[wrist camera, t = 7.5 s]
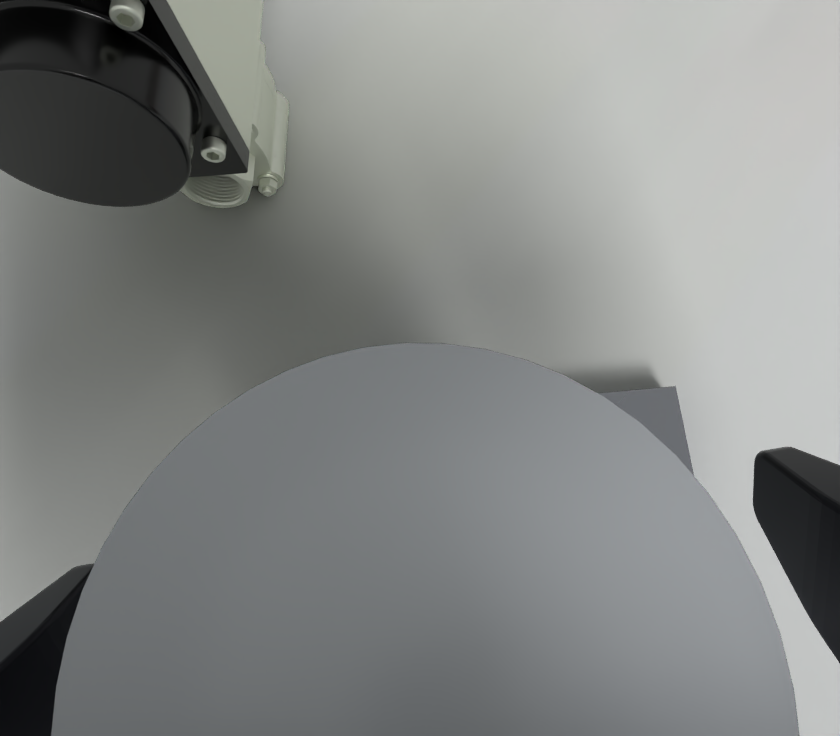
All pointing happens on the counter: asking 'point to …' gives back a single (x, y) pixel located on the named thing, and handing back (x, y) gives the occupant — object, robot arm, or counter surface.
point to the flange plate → (656, 416)
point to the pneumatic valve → (140, 100)
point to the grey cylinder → (423, 570)
